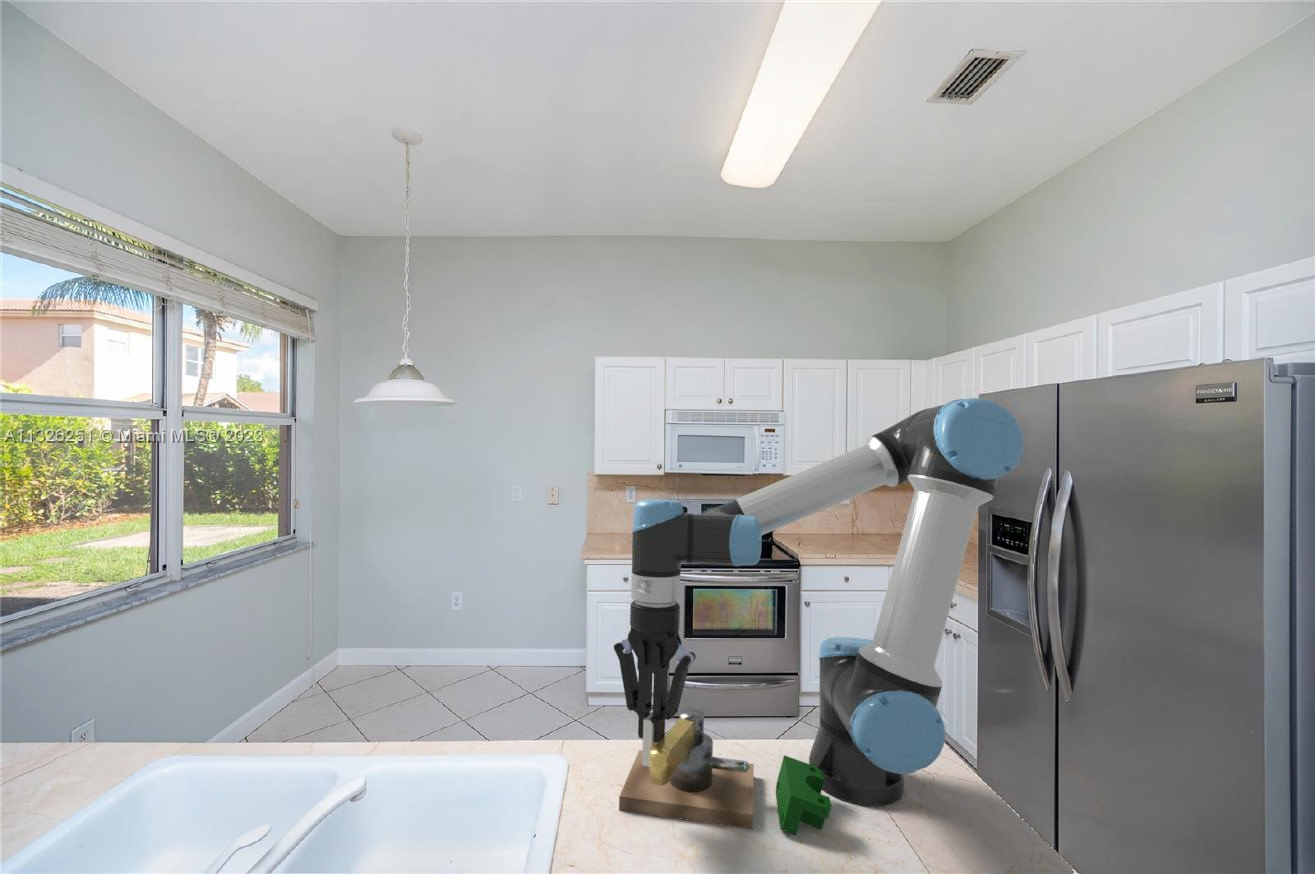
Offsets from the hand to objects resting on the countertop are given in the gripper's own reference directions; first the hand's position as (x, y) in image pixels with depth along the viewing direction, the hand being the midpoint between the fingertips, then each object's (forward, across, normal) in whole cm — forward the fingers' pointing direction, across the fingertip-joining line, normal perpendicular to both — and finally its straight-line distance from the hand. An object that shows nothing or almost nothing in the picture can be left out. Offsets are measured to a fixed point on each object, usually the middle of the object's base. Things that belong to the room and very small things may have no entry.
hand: (650, 761), depth 80 cm
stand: (+8, +3, +9) cm, 12 cm away
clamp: (+8, +20, +11) cm, 25 cm away
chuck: (+6, +6, +10) cm, 13 cm away
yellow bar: (0, +3, +3) cm, 4 cm away
